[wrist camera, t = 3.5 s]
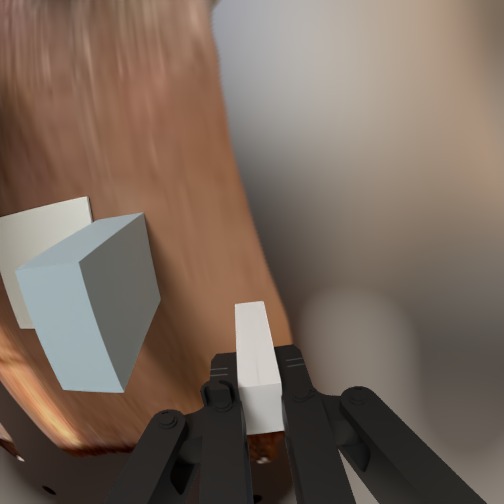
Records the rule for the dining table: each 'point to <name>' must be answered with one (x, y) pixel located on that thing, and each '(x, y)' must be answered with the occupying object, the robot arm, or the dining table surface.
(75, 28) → the dining table surface
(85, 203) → the mat
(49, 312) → the slab
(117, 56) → the dining table surface
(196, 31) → the dining table surface
